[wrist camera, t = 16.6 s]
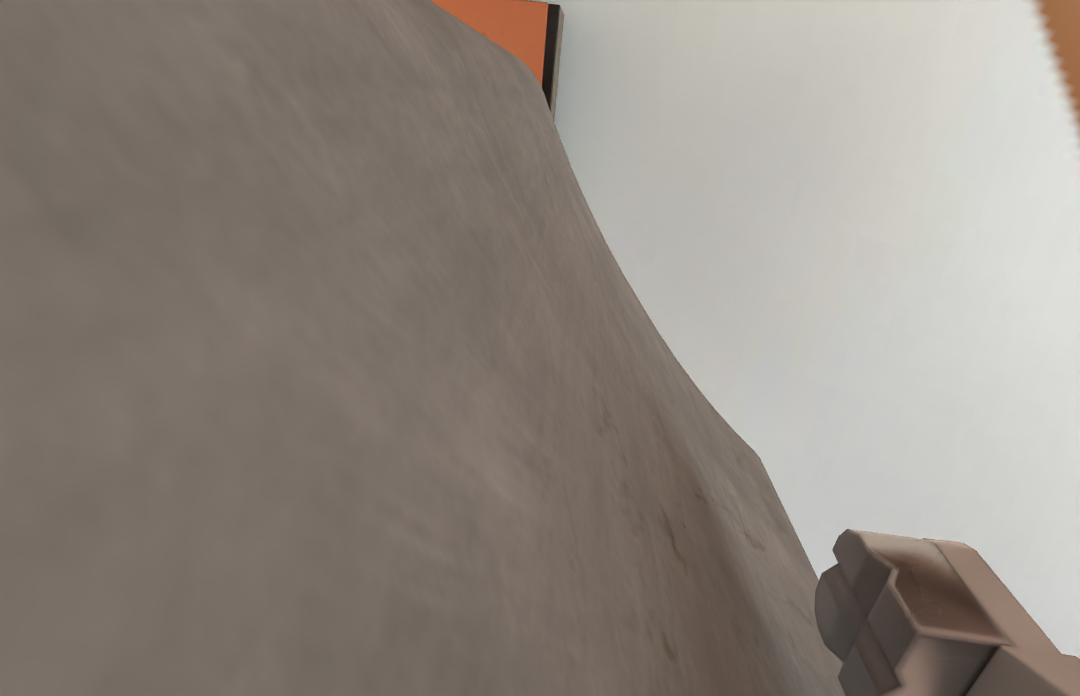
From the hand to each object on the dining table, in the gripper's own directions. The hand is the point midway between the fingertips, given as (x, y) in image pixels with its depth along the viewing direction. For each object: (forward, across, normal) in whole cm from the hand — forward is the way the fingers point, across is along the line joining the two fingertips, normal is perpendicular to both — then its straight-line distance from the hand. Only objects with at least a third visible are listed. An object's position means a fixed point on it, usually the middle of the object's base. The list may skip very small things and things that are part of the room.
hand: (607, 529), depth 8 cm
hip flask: (+9, 0, 0) cm, 9 cm away
